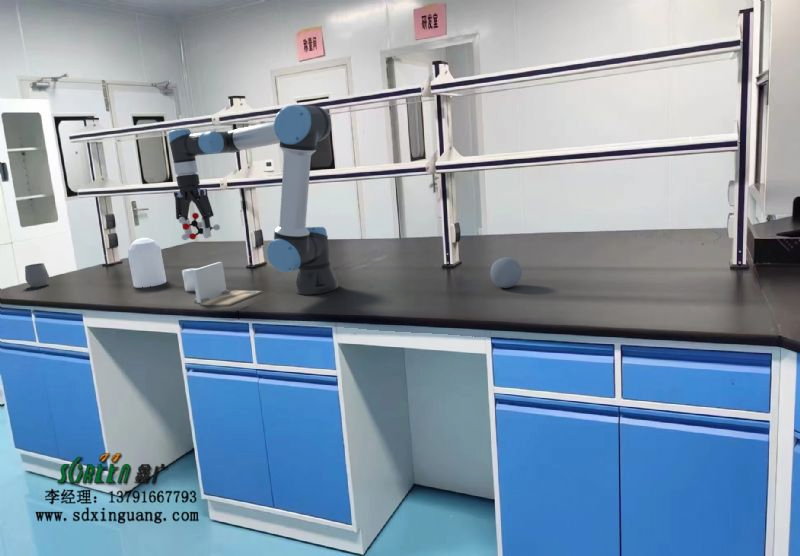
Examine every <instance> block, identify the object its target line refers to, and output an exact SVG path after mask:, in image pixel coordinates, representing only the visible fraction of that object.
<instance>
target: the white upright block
mask: <svg viewBox="0 0 800 556" xmlns="http://www.w3.org/2000/svg"><path fill="white" fill-rule="evenodd" d="M198 268H199V267H191V268H186V269H182V270H181V273H182V279H183V283H184V284H183V286H184V290H185V292H195V286H194V280H193V274H192V270H194V269H198Z"/></svg>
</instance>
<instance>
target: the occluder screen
mask: <svg viewBox="0 0 800 556" xmlns="http://www.w3.org/2000/svg"><path fill="white" fill-rule="evenodd" d="M197 268H198V269H194V270H192V274H193V280H194V286H195V291H194V292H195V298H194V299H193V302H194V303H197V304H200V303H202V302H204V301H207V300H210V299H212V298H215V297H218V296H220V295H223V294H226V293H228V292H231V291H230V290H228V289H227V285H226V284H227V283H226V278H225V270H224V265H223V261H217V262H214V263H211V264H208V265H205V266H202V267H197Z"/></svg>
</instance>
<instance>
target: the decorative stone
mask: <svg viewBox="0 0 800 556" xmlns="http://www.w3.org/2000/svg"><path fill="white" fill-rule="evenodd" d="M489 271H490V279H491V280H492V282H493V283H494V285H496V286H497V287H500V288H504V289H509V288H512V287H514V286H515V285H517V284H518V283H519V281H520V280H521V277H522V267H521V265H520V264H519V263H518V261H517V260H515V259H514V258H511V257H507V256H504V257H501V258H498V259H496V260H495V261H494V262H493V263H492V265H491V267H490V270H489Z"/></svg>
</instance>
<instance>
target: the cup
mask: <svg viewBox="0 0 800 556" xmlns="http://www.w3.org/2000/svg"><path fill="white" fill-rule="evenodd" d="M24 271H25V274H24V276H25V277H24V278H25V282H26V283H27V284H28V285H29V287H30V288H42V287H45V286H47V284H48V282H49V280H50V275H49V272H48V270H47V268H46V266H45V263H43V262H42V263H33V264H29V265H27V264H26V265H25V267H24ZM41 286H42V287H41Z"/></svg>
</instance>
